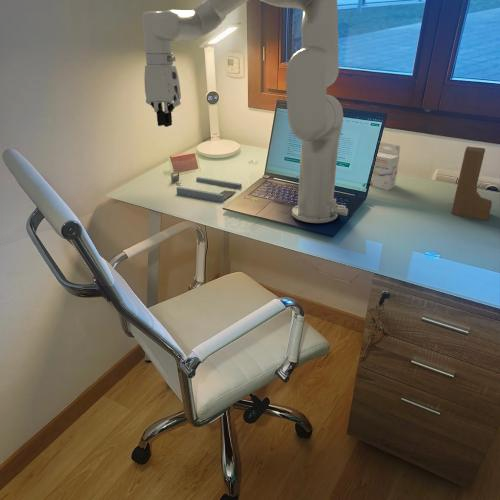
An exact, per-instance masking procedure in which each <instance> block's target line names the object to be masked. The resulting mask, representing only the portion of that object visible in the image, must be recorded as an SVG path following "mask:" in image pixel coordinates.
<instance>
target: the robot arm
mask: <svg viewBox="0 0 500 500" xmlns="http://www.w3.org/2000/svg"><path fill="white" fill-rule="evenodd" d="M259 1H260V2H263V3H265V4H268V5H272V6H274V7H278V8H287V9H298V10H300V11H301V12H302V19H301V25H300V26H301V27H300V34H301V35H300V36H301V49H300V50H298V51H295V52H294V54H293V55H292V56H291V58H290V59H289V61H288V64H287V66H286V70H285V71H286V72H285V87H286V89H285V90H286V92H285V93H286V105H287V106H286V107H287V120H288V125H289V129H290V131H291V132H292V135H293V136H294V137H296V139H297V140H298V139H299V140H300V141H301V146H300V156H299V157H300V158H299V159H300V161H299V175H298V177H299V178H298V193H297V197H298V198H297V205H295V206H294V207H293V208H292V209H291V215H292V217H293V218H294V219H296V220H298V221H301V222H304V223H305V222H306V223H311V224H324V223H330V222H333V221H335V220H336V219H337V218H338V216H339V215H340V216H345V217H346V216H348V213H349V208H347V207H346V205H342V204H338V203H337V198H334V193H335V186H336V183H335V182H336V175H337V174H336V173H337V163H338V162H337V160H338V154H339V145H340V144H339V142H340V138H341V137H340V136H341V133H342V127H343V122H344V111H343V107H342V105H341V102H340V101H339V100H338V99H337V98H336V97H334V96H333V95H330V94H327V88H328V87H330V86H332V85H333V84H334V83H335V81H336V80H337V78H338V77H339V72H340V65H339V64H340V63H339V62H340V61H339V57H340V56H339V55H340V54H339V29H338V27H339V26H338V24H339V23H338V17H339V16H338V15H339V14H338V13H339V12H338V10H339V9H338V0H259ZM247 2H249V0H204V1H203V2H202V3H200V4H199V5H197V6H196V7H195V8H193V9H191V10H186V9H185V10H183V9H182V10H181V9H167V10H163V11H158V10H157V11H153V10H152V11H145V12H144V13H142V17H141V21H142V30H143V32H142V33H143V41H144V42H143V43H144V51H145V61H146V62H145V63H146V65H145V66H144V75H143V76H144V77H143V78H144V79H143V80H144V94H145V98H146V99H145V103H146V104H148V105H149V106H151V107H152V108H153V111H154V112H155V113H156V122H157V126H158V127H162V126H163V127H165V128H168V127H171V126H172V125H173V123H172V122H173V119H172V118H173V116H172V112H174V110H175V108H177V107H179V106H181V101H180V100H182V99H181V97H182V94H181V85H180V78H179V74H178V70H177V66H176V64H175V65H174V62H175V61H176V57H175V56H173V48H172V47H173V46H172V42H187V41H188V42H194V41H197V40H200V39H201V38H203V37H204V36H206V35H208V34H209V33H211V32H212V31H214V30H216V29H217V28H218V27H219V26H220V25H221V24H222V23H223V22H224V20H225V19H226V17H227V16H228V15H229V14H230V13H232V12H234V11H235V10H236V9H238V8H239V7H241V6H242V5H244V4H246V3H247Z"/></svg>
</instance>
